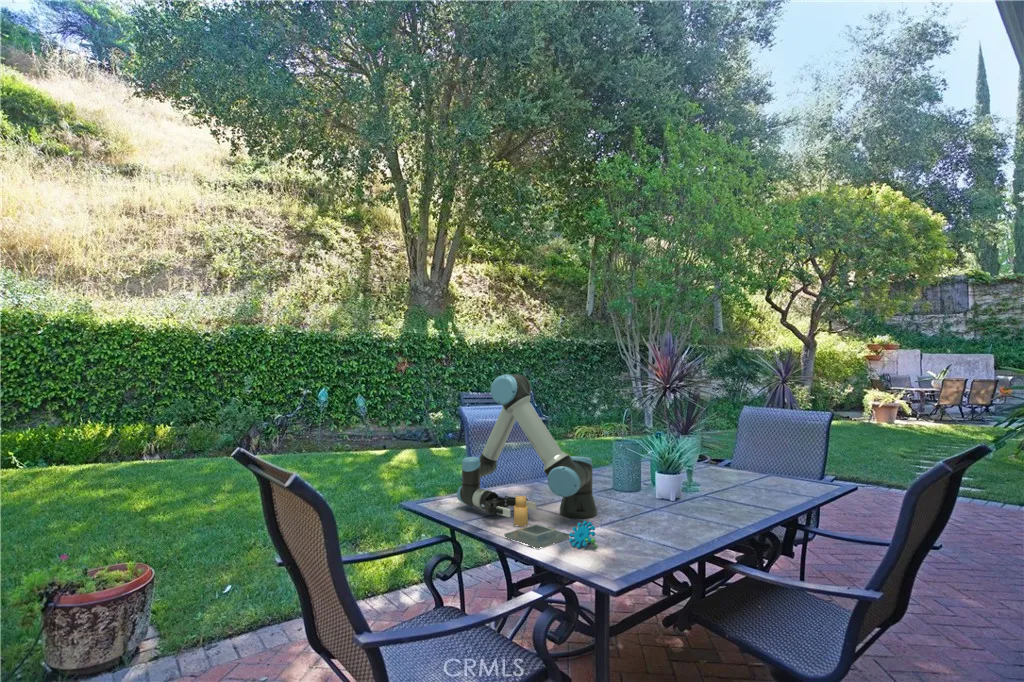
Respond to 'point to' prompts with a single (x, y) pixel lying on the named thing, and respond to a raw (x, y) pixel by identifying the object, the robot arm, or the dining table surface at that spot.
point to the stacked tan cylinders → (520, 511)
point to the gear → (582, 535)
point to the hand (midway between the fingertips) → (522, 510)
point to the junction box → (537, 535)
